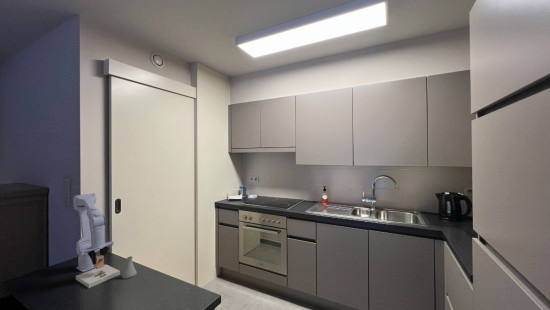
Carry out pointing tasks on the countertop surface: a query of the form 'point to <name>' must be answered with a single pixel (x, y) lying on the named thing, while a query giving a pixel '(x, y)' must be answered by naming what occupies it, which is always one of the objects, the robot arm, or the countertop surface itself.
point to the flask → (129, 269)
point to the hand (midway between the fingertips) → (98, 262)
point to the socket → (91, 281)
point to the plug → (99, 261)
